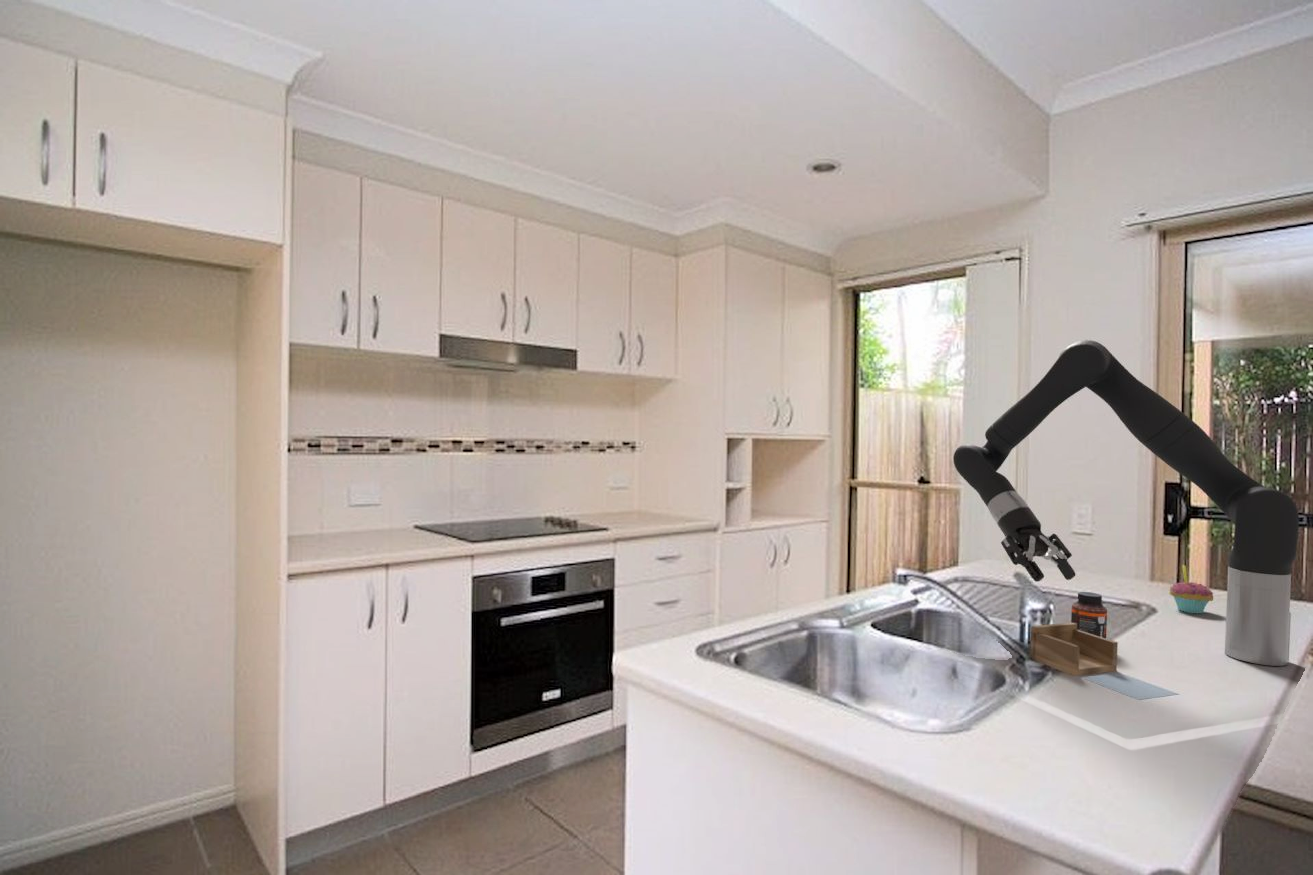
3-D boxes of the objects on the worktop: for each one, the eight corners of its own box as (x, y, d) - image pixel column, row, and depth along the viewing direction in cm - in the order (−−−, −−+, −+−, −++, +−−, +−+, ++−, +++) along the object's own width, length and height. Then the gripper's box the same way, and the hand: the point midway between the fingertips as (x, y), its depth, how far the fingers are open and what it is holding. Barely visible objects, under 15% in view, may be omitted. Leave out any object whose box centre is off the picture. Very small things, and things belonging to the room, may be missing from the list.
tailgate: (1119, 672, 121) (1178, 693, 111) (1119, 678, 121) (1178, 700, 111) (1081, 677, 118) (1138, 699, 109) (1080, 682, 118) (1138, 705, 109)
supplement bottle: (1111, 657, 132) (1113, 598, 132) (1077, 654, 134) (1079, 596, 133) (1098, 647, 138) (1100, 591, 138) (1065, 644, 139) (1067, 589, 139)
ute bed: (1070, 659, 130) (1072, 622, 130) (1116, 675, 122) (1117, 636, 122) (1030, 663, 127) (1031, 626, 127) (1073, 681, 119) (1075, 640, 119)
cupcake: (1180, 614, 166) (1182, 564, 166) (1161, 605, 175) (1163, 558, 175) (1220, 617, 165) (1222, 567, 165) (1199, 608, 173) (1201, 560, 173)
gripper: (998, 506, 149) (1041, 569, 138) (1048, 505, 153) (1094, 567, 143) (978, 526, 154) (1018, 590, 143) (1027, 525, 159) (1070, 586, 148)
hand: (1056, 578), depth 143 cm, fingers open, 8 cm apart
